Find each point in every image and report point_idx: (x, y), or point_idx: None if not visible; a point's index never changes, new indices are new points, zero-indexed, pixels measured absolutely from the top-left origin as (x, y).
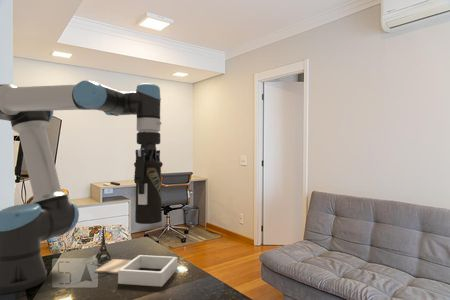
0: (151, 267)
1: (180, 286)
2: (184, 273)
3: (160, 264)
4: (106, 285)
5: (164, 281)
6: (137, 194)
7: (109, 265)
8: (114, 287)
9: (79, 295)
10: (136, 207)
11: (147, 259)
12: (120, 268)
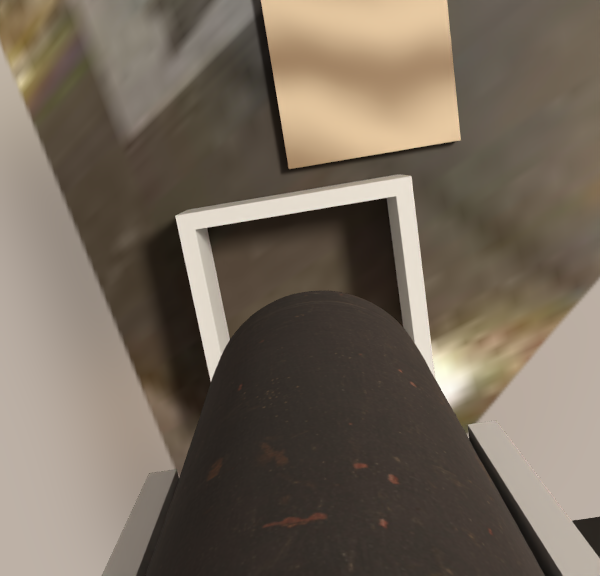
0: (394, 252)
1: None
2: None
3: (403, 303)
4: (154, 169)
5: None
6: (173, 498)
7: (345, 11)
8: (151, 219)
9: (33, 125)
10: (211, 394)
11: (398, 236)
12: (325, 108)
